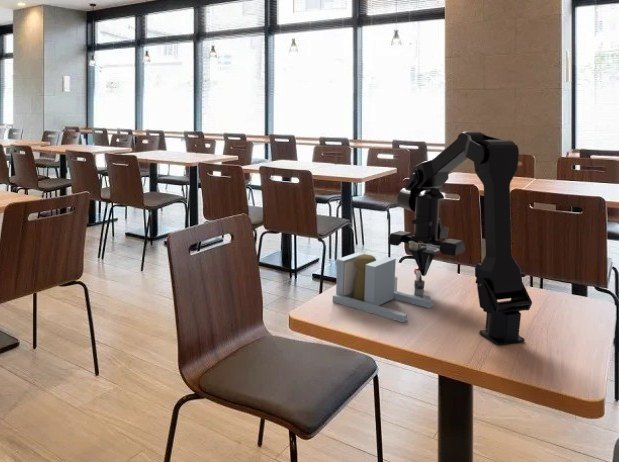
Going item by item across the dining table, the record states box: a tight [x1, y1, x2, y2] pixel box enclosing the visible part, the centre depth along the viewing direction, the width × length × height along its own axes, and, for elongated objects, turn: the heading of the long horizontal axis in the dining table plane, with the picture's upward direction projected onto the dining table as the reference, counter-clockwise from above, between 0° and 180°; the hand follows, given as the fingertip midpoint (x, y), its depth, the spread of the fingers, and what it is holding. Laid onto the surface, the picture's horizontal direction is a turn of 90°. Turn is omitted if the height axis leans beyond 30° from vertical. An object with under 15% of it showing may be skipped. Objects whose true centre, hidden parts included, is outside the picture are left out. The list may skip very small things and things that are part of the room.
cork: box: [351, 254, 377, 302], centre depth 129 cm, size 6×6×11 cm
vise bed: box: [332, 251, 433, 323], centre depth 128 cm, size 20×18×10 cm
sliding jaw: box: [364, 256, 397, 306], centre depth 126 cm, size 3×9×10 cm, turn 140°
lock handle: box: [413, 266, 425, 289], centre depth 135 cm, size 13×2×2 cm, turn 170°
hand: (423, 275), depth 136 cm, fingers closed
